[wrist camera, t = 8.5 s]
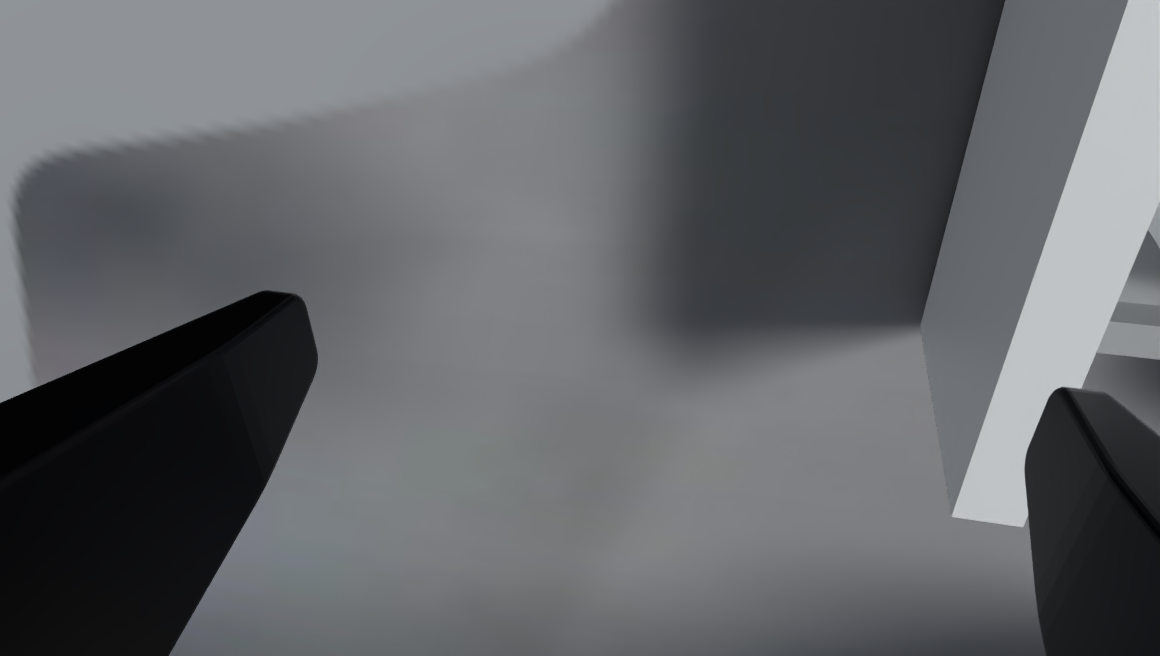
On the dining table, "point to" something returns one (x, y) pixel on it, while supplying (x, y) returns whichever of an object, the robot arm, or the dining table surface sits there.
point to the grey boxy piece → (1045, 237)
